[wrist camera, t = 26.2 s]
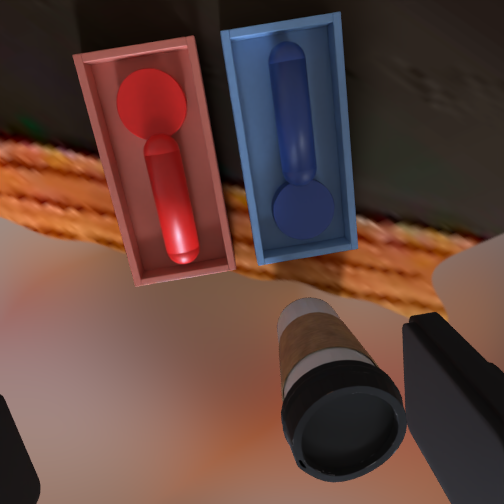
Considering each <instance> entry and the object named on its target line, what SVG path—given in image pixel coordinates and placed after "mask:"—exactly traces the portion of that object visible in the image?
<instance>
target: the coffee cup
mask: <svg viewBox="0 0 504 504" xmlns="http://www.w3.org/2000/svg"><path fill="white" fill-rule="evenodd" d="M277 332H278V342H279V358H280V373H281V374H280V375H281V391H282V401H283V405H282V410H281V419H282V424H283V431H284V435H285V438H286V440H287V442H288V443H289V445H290V447H291V450H292V453H293V456H294V458H295V461H296V463H297V465H298V467H299V468H300V469H302V470H303V471H304V472H306V473H308V474H309V475H311V476H313V477H315V478H317V479H320V480H323V481H327V482H342V481H347V480H351V479H355V478H357V477H360V476H363V475H365V474H367V473H369V472H371V471H373V470H374V469H376V468H377V467H379V466H380V465H382V464H383V463H384V462H385V461H387V460H388V459H389V458H390V457H391V456H392V455H393V454H394V453H395V451H396V450H397V449H398V448H399V446H400V444H401V442H402V441H403V439H404V436H405V433H406V427H407V421H406V413H405V410H404V407H403V402H402V397H401V394H400V392H399V390H398V388H397V387H396V386H395V384H394V382H393V381H392V380H391V378H390V377H389V376H388V375H387V374H386V373H385V372H384V371H382V370H381V369H380V368H379V367H378V365H377V364H376V363H375V361H374V360H373V359H372V357H371V356H370V355H369V354H368V352H367V351H366V350H365V349H364V348H363V346H362V345H361V344H360V342H359V341H358V340H357V339H356V337H355V336H354V335H353V334H352V332H351V331H350V330H349V329H348V327H347V326H346V325H345V324H344V322H343V321H342V320H341V319H340V317H339V316H338V315H337V313H336V312H335V311H334V310H333V308H332V307H331V306H330V305H329V304H328V303H327V302H325V301H323V300H321V299H317V298H302V299H299V300H296V301H294V302H292V303H290V304H289V305H288V306H287V307H286V308H285V309H284V310H283V311H282V313H281V314H280V317H279V319H278V324H277Z"/></svg>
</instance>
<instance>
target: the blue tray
mask: <svg viewBox="0 0 504 504" xmlns="http://www.w3.org/2000/svg"><path fill="white" fill-rule="evenodd" d="M220 37H221V43H222V49H223V55H224V62H225V68H226V74H227V80H228V86H229V93H230V99H231V105H232V111H233V117H234V123H235V130H236V136H237V142H238V148H239V154H240V161H241V167H242V173H243V179H244V185H245V192H246V198H247V204H248V210H249V216H250V222H251V229H252V235H253V241H254V247H255V253H256V258H257V263H258V266H259V265H265V264H271V263H277V262H283V261H289V260H294V259H300V258H306V257H312V256H318V255H324V254H330V253H336V252H341V251H347V250H353V249H358V240H357V227H356V213H355V200H354V186H353V173H352V159H351V146H350V132H349V119H348V105H347V92H346V78H345V65H344V51H343V38H342V24H341V12H334V13H327V14H321V15H315V16H309V17H303V18H297V19H290V20H284V21H278V22H272V23H266V24H260V25H253V26H247V27H241V28H235V29H229V30H222V31H221V32H220ZM284 41H291V42H294V43H296V44H298V45H299V46H300V47H301V48H302V50H303V51H304V54H305V57H306V67H307V76H308V86H309V96H310V106H311V115H312V125H313V135H314V144H315V154H316V164H317V171H316V175H315V177H314V179H316V180H318V181H319V182H321V183H322V184H323V185H324V186H325V187H327V189H328V190H329V191H330V193H331V194H332V197H333V199H334V204H335V211H334V216H333V219H332V221H331V223H330V225H329V226H328V227H327V229H326V230H325V231H323V232H322V233H321V234H319V235H318V236H316V237H313V238H310V239H305V240H299V239H294V238H291V237H289V236H287V235H285V234H284V233H283V232H282V231H281V230H280V229H279V228H278V226H277V224H276V222H275V220H274V218H273V215H272V208H271V207H272V200H273V197H274V195H275V193H276V191H277V189H278V188H279V187H280V186H281V185H282V184H283V183H285V182H286V179H285V178H284V176H283V172H282V166H281V159H280V151H279V143H278V136H277V128H276V120H275V113H274V105H273V97H272V90H271V82H270V74H269V67H268V59H269V55H270V52H271V51H272V49H273V48H274V47H275V46H276V45H277V44H279V43H281V42H284Z"/></svg>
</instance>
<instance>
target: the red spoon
mask: <svg viewBox="0 0 504 504" xmlns="http://www.w3.org/2000/svg"><path fill="white" fill-rule="evenodd" d="M116 104H117V111H118V114H119V117H120V119H121V121H122V123H123V124H124V125H125V127H126V128H127V129H128V130H129V131H130V132H131V133H133V134H134V135H136V136H137V137H139V138H142V139H145V140H147V141H146V143H145V145H144V149H143V153H144V158H145V162H146V167H147V171H148V175H149V179H150V183H151V188H152V192H153V196H154V200H155V205H156V209H157V213H158V217H159V221H160V226H161V230H162V234H163V238H164V242H165V247H166V251H167V254H168V256H169V257H170V259H171V260H173V261H174V262H176V263H178V264H188V263H190V262H192V261H194V260H195V259H196V257H197V256H198V254H199V250H200V245H199V240H198V235H197V230H196V225H195V221H194V216H193V211H192V206H191V201H190V197H189V192H188V187H187V182H186V177H185V173H184V168H183V163H182V158H181V153H180V149H179V146H178V144H177V142H176V141H175V140H174V139H173V138H172V137H171V136H172V135H173V134H174V133H176V132H177V131H178V130H179V129H180V128H181V126H182V125H183V123H184V121H185V118H186V115H187V99H186V95H185V93H184V90H183V88H182V87H181V85H180V84H179V83H178V81H177V80H176V79H175V78H173V77H172V76H171V75H169V74H168V73H166V72H164V71H161V70H158V69H154V68H143V69H139V70H136V71H134V72H132V73H131V74H129V75H128V76H127V77H126V78H125V79H124V80H123V82H122V83H121V85H120V87H119V89H118V93H117V99H116Z"/></svg>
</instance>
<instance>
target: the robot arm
mask: <svg viewBox="0 0 504 504" xmlns="http://www.w3.org/2000/svg"><path fill="white" fill-rule="evenodd" d="M402 333H403V357H404V358H403V360H404V383H405V411H406V421H407V425H408V427H409V430H410V432H411V434H412V436H413V438H414V440H415V441H416V443H417V445H418V447H419V448H420V450H421V452H422V454H423V455H424V457H425V459H426V460H427V462H428V464H429V466H430V467H431V469H432V471H433V473H434V475H435V476H436V478H437V480H438V482H439V483H440V485H441V487H442V489H443V490H444V492H445V494H446V496H447V497H448V499H449V501H450V502H451V504H504V373H503V372H502V371H501V370H500V369H499V368H498V367H497V366H496V365H494V364H493V363H489V362H487V361H486V360H485V359H484V358H483V357H482V356H481V355H480V354H479V353H478V352H477V351H476V350H475V349H474V348H473V347H472V346H471V345H470V344H469V343H468V342H467V341H466V340H465V339H464V338H463V337H462V336H461V335H460V334H459V333H458V332H457V331H456V330H455V329H454V328H453V327H452V326H450V324H449V323H448V322H447V321H446V320H445V319H444V318H443V317H441V316H440V315H439V314H438V313H437V312H432V313H426V314H420V315H414V316H411V317H410V319H409V323H405V324H404V325H403V327H402ZM39 495H40V481H39V478H38V476H37V474H36V471H35V469H34V467H33V464H32V462H31V460H30V457H29V455H28V453H27V450H26V448H25V446H24V443H23V441H22V439H21V436H20V434H19V432H18V429H17V427H16V425H15V422H14V420H13V418H12V415H11V413H10V411H9V408H8V406H7V404H6V401H5V399H4V397H3V396H2V395H0V504H36V503H37V501H38V499H39Z"/></svg>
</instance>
